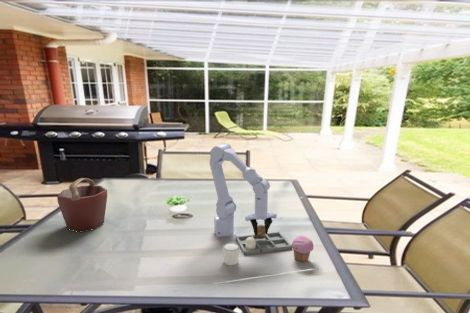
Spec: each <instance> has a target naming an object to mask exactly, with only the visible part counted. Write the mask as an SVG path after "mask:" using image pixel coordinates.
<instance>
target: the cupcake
mask: <svg viewBox="0 0 470 313" xmlns="http://www.w3.org/2000/svg"><path fill="white" fill-rule="evenodd" d="M291 246H292V250H293V257H294V260H295V261H299V262H300V261H301V262H302V263H303V262H307V261H308V260H309V259H310V255H311V253H312V251H313V250H314V243H313V240H312V239H310V238H308V236H304V235H298V236H296V237H295V239H293V240H292V242H291Z"/></svg>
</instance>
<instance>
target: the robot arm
mask: <svg viewBox="0 0 470 313" xmlns="http://www.w3.org/2000/svg"><path fill="white" fill-rule="evenodd" d="M209 156H210V157H209V167H210V171H211V175H212V178H213V182H214V183H213V184H214V187H215V190H216V191H215V192H216V195H217V198H218V199H217V200H216V203H215V206H216V210H215V212H216V215H217V216H214V223H213V225H214V230H213V231H214V233H215V236H216V238H221V237H229V236H230V237H231V236H237V233H236V232H235V227H234V226H235V224H234V223H235V222H234V221H235V220H234V219H235V216H234V215H235V212H236V211H237V205H236V203H235V201H234V199H233V197H231V195H230V194H229V189H228V185H227V182H226V176H225V174H224V169H223V163H224V161H225V162H231V163H232V164H233V165H234V166H235V167H236V168H237V169H238V170H239V171H241V173H242V177H243V178H244V179H245V181H247V183H249V185H250V186H251V187H252V191H253V193H254V213H252V214H249V215H248V214H247V215H245V216H244V220H245V221H246V222H250V223H251V226H252V229H253V233H254V234H255V235H257V226H258V225H259V224H258V220H261V221H264V224H263V226H264V227H265V229H266V231H265V234H267V233H269V229H270V226H271V225H272V223H273V219H277V217H278V216H277V213H276V212H268V200H269V199H268V196H269V194H268V193H269V192H268V191H269V189H270V186H271V185H270V182H269V180H268V179H266V178H263V177H262V176H260V174H259V173H258V172H256V168H254V167H250V166H249V167H248V166H247V165H246V163H245V162H244V161H243V159H241V157H240V156H239V155H238V154H237V153H236V152H235V148H233V147H232V146H231V145H230V144H228V143H223V144H220V145H216V146H213V147H212V148H211V149H210V151H209ZM254 234H253V235H254Z"/></svg>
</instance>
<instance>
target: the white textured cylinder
mask: <svg viewBox="0 0 470 313" xmlns="http://www.w3.org/2000/svg"><path fill="white" fill-rule="evenodd" d="M222 254H223V255H222V256H223V263H224V264H225V265H228V266H235V265H237V264H238V263H239V258H240V256H239V254H240V246H239V244H238V243H235V242H234V243H233V242H229V243H228V242H227V243H225V244H223V245H222Z"/></svg>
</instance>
